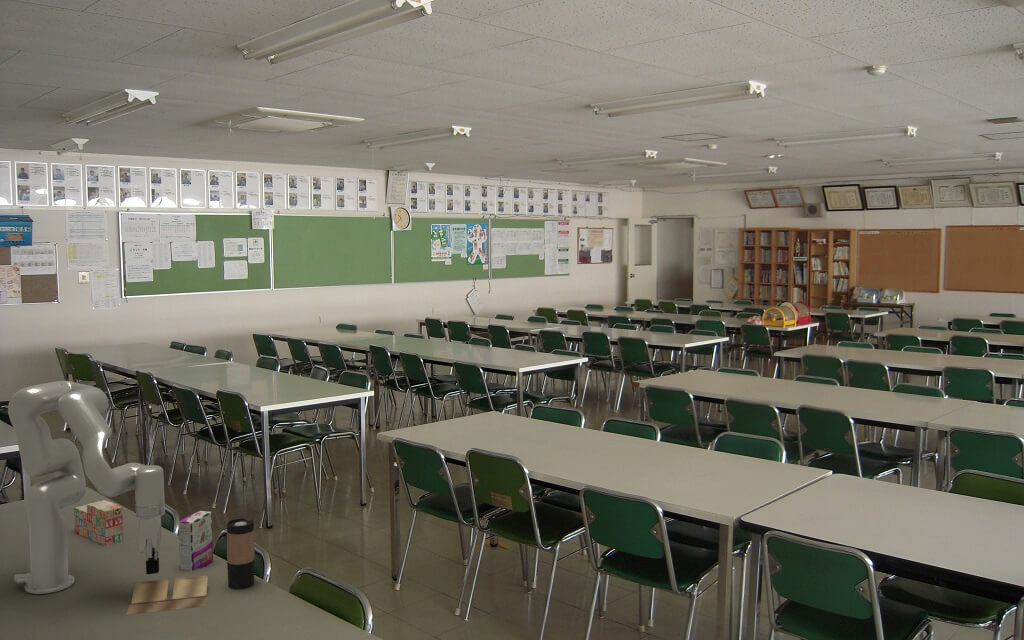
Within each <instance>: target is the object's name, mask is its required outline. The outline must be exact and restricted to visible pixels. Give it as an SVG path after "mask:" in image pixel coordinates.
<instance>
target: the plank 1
mask: <svg viewBox="0 0 1024 640" xmlns="http://www.w3.org/2000/svg"><path fill="white" fill-rule="evenodd" d="M133 583H134V584H133V590H132V597H131V603H130V604H134V603H143V602H152V601H162V600H168V594H169V587H170V580H169V579H158V580H157V579H156V580H148V581H138V582H133Z"/></svg>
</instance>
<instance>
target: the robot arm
mask: <svg viewBox="0 0 1024 640" xmlns="http://www.w3.org/2000/svg"><path fill="white" fill-rule="evenodd" d="M108 407H109V399H108V396H107V394H106V393H105V392H104V391H103V390H102V389H100V388H98V387H96V386H92V385H88V384H87V385H86V384H85V383H78V382H75V381H71V380H56V381H50V382H45V383H39V384H35V385H30V386H27V387H26V386H25V387H23V388H21V389H19V390H17V391H16V392H15V393H14V394H13V395H12V396H11V397H10V400H9V402H8V406H7V412H8V417H9V420H10V423H11V425H12V428H13V430H14V434H15V437H16V440H17V442H16V443H17V446H18V450H19V455H20V460H21V464H22V467H23V470H24V473H25V474H26V476H29V477H31V478H41V477H45V476H48V475H50V474H54V477H51V478H48V479H45V480H42V481H38V482H36V483H35V484H33V485H31V486H30V487H29V488H28V489H27V490H26V491H25V494H24V496H23V497H24V498H23V502H24V503H23V504H24V509H25V511H26V515H27V520H28V534H29V561H30V562H29V563H30V565H29V566H30V572H27V573H24V574H23V573H19V574H14V578H13V580H14V582H16V584H23V583H25V585H24V591H25V592H26V593H29V594H32V595H42V594H43V595H45V594H46V595H47V594H52V593H56V592H60V591H62V590H66V589H67V588H69V587H71V586H72V585H73V584H74V582H75V577H74V575H72V574H69V558H68V554H69V553H68V552H69V551H68V549H69V548H68V528H67V526H68V525H67V522H66V519H65V517H64V515H62V512H61V510H62V509H64V508H66V507H69V506H71V505H74V504H76V503H78V502H80V501H81V500H83V498H84V497H85V495H86V493H87V483H86V478H85V476H86V477H87V478H88V479H89V481H90V483H91V484H92V486H93V487H94V488H95V489H96V491H97V492H99V493H100V494H101V495H103V496H104V497H108V498H113V497H116V496H117V497H118V496H119V495H123V494H124V493H127V492H130V491H133V490H134V497H135V500H134V501H135V518H137V519H139V521H138V523H139V525H138V554H143V553H144V552H145V572H146V573H145V574H147V575H154V574H159V572H160V559H159V549H160V546H161V543H162V516H164V515H165V514H166V508H165V507H166V504H165V501H166V500H165V477H164V469H163V467H162V466H160V465H156V464H154V465H153V464H152V465H150V464H149V465H146V464H143V463H138V462H128V463H125V464H123V465H119V466H116V467H113V468H111V466H110V465H109V464H108V462H107V461H106V459H105V456H104V454H103V447H104V444H105V442H106V441H107V440H109V438H110V437H111V436H112V432H113V431H112V428H111V427H110V425H109V423H108V422H107V421H106V420H105V418H104V417H103V415H102V414H103V413H105V411H106V410H108ZM56 411H57V412H58V413H59V415H60V416H61V418H62V419H63V420H64V422H65V423H66V425H67V426H68V427H69V429H70V430H71V432H72V433H73V435H74V436H75V437H76V439H77V440H78V442H79V443H80V444H81V446H82V459H81V455H80V451H79V449H78V447H77V446H76V444H75V443H74V442H73V441H72V440H70V439H67V438H63V437H62V438H55V439H53V438H52V436H51V429H50V427H49V425H48V423H47V422H46V421H45V419H44V418H42V416H41V415H43V414H45V413H50V412H56Z"/></svg>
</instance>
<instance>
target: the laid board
mask: <svg viewBox="0 0 1024 640" xmlns="http://www.w3.org/2000/svg"><path fill="white" fill-rule="evenodd" d="M207 598H208V595H206V596H198V597H188V598H179V599H167V600H161V601H151V602H142V603H133V604H131V603H129V606H128V608H127V611H126V613H125V615H126V616H129V615H138V614H146V613H157V612H165V611H173V610H183V609H193V608H202V607H206V605H207Z"/></svg>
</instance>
